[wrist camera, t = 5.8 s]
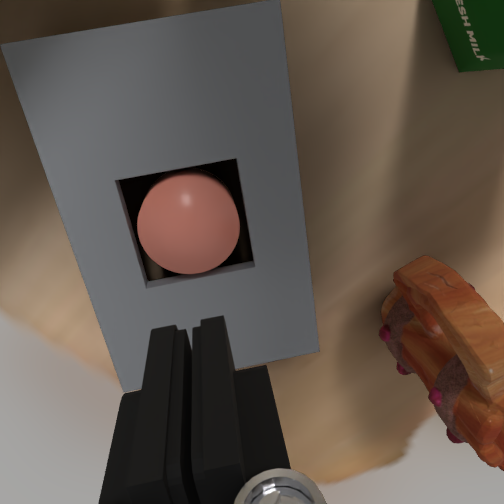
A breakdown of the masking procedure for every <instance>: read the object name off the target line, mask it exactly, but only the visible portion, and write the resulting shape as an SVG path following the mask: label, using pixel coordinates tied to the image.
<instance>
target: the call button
mask: <svg viewBox="0 0 504 504" xmlns="http://www.w3.org/2000/svg"><path fill="white" fill-rule="evenodd" d="M137 229H138V236H139V239H140V242H141V245H142V246H143V248H144V250H145V251H146V253H147V254H148V256H149V257H150V258H151V259H152V260H153V261H155V262H156V263H157V264H158V265H160V266H162V267H163V268H165V269H167V270H170V271H173V272H177V273H182V274H196V273H202V272H206V271H208V270H211V269H213V268H215V267H217V266H218V265H220V264H221V263H222V262H223V261H225V260H226V259H227V258H228V256H229V255H230V254H231V253H232V251H233V250H234V248H235V246H236V243H237V240H238V237H239V231H240V223H239V217H238V213H237V209H236V206H235V203H234V200H233V197H232V194H231V192H230V191H229V189H228V188H227V186H226V185H225V184H224V183H223V182H222V181H221V180H220V179H219V178H218V177H217V176H215V175H213V174H212V173H210V172H208V171H205V170H202V169H199V168H188V167H186V168H180V169H175V170H172V171H169V172H167V173H165V174H163V175H162V176H161V177H159V178H158V179H157V180H156V181H155V182H154V183H153V184H152V185H151V187H150V188H149V190H148V192H147V194H146V196H145V199H144V201H143V204H142V206H141V209H140V212H139V216H138V222H137Z"/></svg>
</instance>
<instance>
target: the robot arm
mask: <svg viewBox="0 0 504 504" xmlns="http://www.w3.org/2000/svg"><path fill="white" fill-rule="evenodd" d="M99 504H327V503H326V501H325V499H324V497H323V495H322V493H321V491H320V490H319V488H318V487H317V486H316V484H315V483H314V482H313V481H312V480H311V479H309V478H308V477H307V476H306V475H304V474H302V473H300V472H297V471H294V470H292V469H291V467H290V463H289V459H288V455H287V450H286V446H285V442H284V438H283V433H282V429H281V425H280V420H279V416H278V412H277V408H276V403H275V399H274V395H273V391H272V386H271V382H270V378H269V374H268V369H267V366H266V365H264V366H259V367H254V368H249V369H244V370H239V371H236V370H235V365H234V361H233V356H232V351H231V346H230V341H229V337H228V332H227V327H226V322H225V318H224V315H222V316H216V317H211V318H206V319H201V321H200V326H198V327H193V328H192V349H191V345H190V341H189V337H188V334H187V331H186V329H182V330H178V328H177V326H176V325H170V326H165V327H160V328H154V329H152V330H151V333H150V339H149V345H148V351H147V358H146V364H145V370H144V376H143V382H142V389H141V390H139V391H134V392H129V393H125V394H124V395H123V396H122V399H121V402H120V407H119V411H118V416H117V420H116V425H115V430H114V434H113V439H112V444H111V448H110V453H109V458H108V462H107V467H106V471H105V476H104V481H103V485H102V490H101V494H100V499H99Z"/></svg>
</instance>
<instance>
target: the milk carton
mask: <svg viewBox="0 0 504 504" xmlns="http://www.w3.org/2000/svg"><path fill="white" fill-rule="evenodd" d="M432 2H433V5H434V8H435V10H436V13H437V15H438V18H439V21H440V23H441V26H442V29H443V31H444V34H445V36H446V39H447V42H448V44H449V47H450V49H451V52H452V55H453V57H454V60H455V63H456V65H457V68H458V70H459V72H469V71H482V70H494V69H504V0H432Z"/></svg>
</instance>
